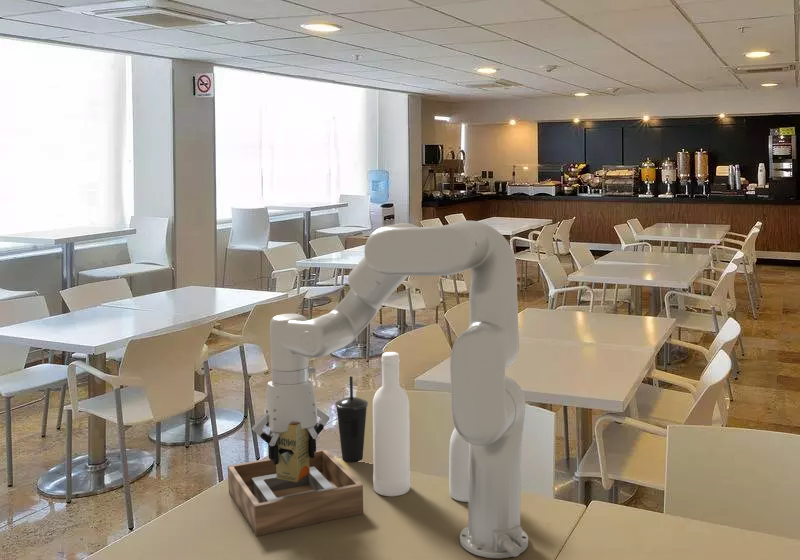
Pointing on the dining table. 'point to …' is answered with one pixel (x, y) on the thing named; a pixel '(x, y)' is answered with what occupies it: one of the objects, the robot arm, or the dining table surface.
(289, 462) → the shoe polish box
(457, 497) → the milk bottle
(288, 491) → the walnut crate
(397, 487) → the bottle
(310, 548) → the dining table surface
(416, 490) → the dining table surface
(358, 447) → the drinking cup
